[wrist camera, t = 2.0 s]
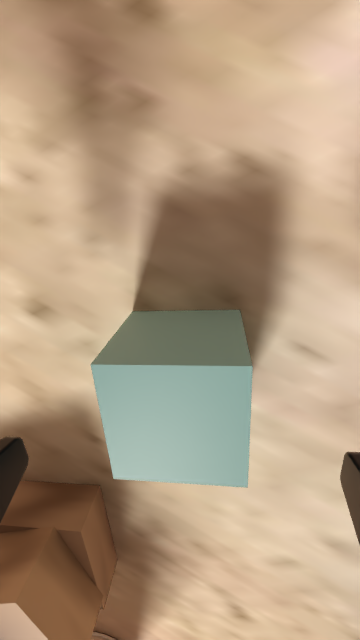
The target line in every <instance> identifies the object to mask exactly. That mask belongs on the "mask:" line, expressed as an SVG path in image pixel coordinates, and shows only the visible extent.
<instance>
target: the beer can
mask: <svg viewBox="0 0 360 640" xmlns="http://www.w3.org/2000/svg"><path fill="white" fill-rule="evenodd" d="M91 640H116V639H114V638H112V637H110V636H107V635H105V634H101V633H97V632H93V634H92V637H91Z"/></svg>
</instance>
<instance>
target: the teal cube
mask: <svg viewBox="0 0 360 640" xmlns="http://www.w3.org/2000/svg"><path fill="white" fill-rule="evenodd" d="M252 368H253V366H252V362H251V357H250V353H249V348H248V344H247V339H246V335H245V330H244V326H243V321H242V317H241V312H240V310H188V311H132V313H131V314H130V315H129V317H128V318H127V319H126V320H125V322H124V323H123V324H122V325H121V327H120V328H119V329H118V331H117V332H116V333H115V334H114V336H113V337H112V338H111V339H110V341H109V342H108V343H107V345H106V346H105V347H104V348H103V350H102V351H101V352H100V353H99V355H98V356H97V357H96V359H95V360H94V361H93V362H92V364H91V369H92V374H93V379H94V384H95V389H96V394H97V399H98V404H99V409H100V414H101V419H102V424H103V429H104V434H105V439H106V444H107V449H108V454H109V459H110V464H111V469H112V474H113V479H123V480H139V481H154V482H170V483H185V484H201V485H216V486H232V487H247V488H248V467H249V443H250V418H251V393H252Z"/></svg>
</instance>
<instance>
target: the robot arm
mask: <svg viewBox="0 0 360 640" xmlns="http://www.w3.org/2000/svg"><path fill="white" fill-rule="evenodd" d="M28 460H29V459H28V454H27V451H26V448H25V445H24V442H23V440H22V439H21V438H20V437H10V436H8V437H5V438H3V439H1V440H0V523H1V521H2V519H3V517H4V515H5V513H6V511H7V509H8V507H9V504H10V502H11V500H12V498H13V496H14V494H15V491H16V489H17V487H18V485H19V483H20V481H21V479H22V476H23V474H24V472H25V470H26V468H27V465H28ZM340 479H341V485H342V488H343V492H344V495H345V498H346V501H347V505H348V508H349V511H350V515H351V518H352V521H353V525H354V528H355V531H356V535H357V538H358V541H359V544H360V452H347V453H346V454H345V455H344V460H343V465H342V470H341V475H340Z"/></svg>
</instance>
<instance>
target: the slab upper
mask: <svg viewBox="0 0 360 640" xmlns="http://www.w3.org/2000/svg"><path fill="white" fill-rule="evenodd" d="M102 599H103V594H102V593H101V591H100V590H99V589H98V587H97V586H96V585H95V583H94V582H93V580H92V579H91V578H90V576H89V575H88V573H87V572H86V571H85V569H84V568H83V566H82V565H81V564H80V562H79V561H78V559H77V558H76V557H75V555H74V554H73V553H72V551H71V550H70V548H69V547H68V546H67V544H66V543H65V541H64V540H63V539H62V537H61V536H60V534H59V533H58V532H57V530H56V528H55V527H54V526H52V527H44V528H38V529H30V530H22V531H14V532H5V533H0V640H91V637H92V634H93V630H94V627H95V623H96V620H97V616H98V613H99V609H100V606H101V602H102Z"/></svg>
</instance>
